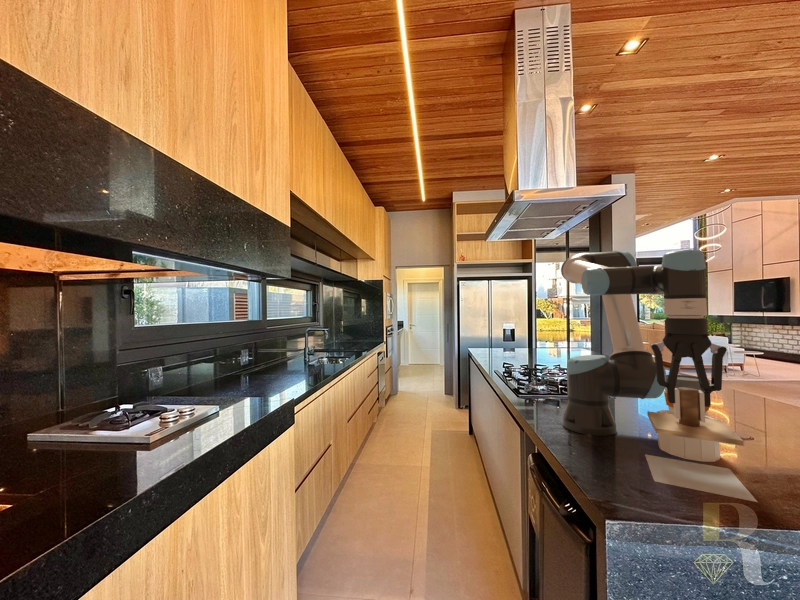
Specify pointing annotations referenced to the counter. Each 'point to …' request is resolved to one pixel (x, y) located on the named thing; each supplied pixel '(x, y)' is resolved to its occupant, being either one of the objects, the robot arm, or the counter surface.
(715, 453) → the ceramic bowl
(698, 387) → the reusable coffee cup
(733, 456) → the counter surface
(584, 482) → the counter surface
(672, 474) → the grey mat
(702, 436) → the oak cover
